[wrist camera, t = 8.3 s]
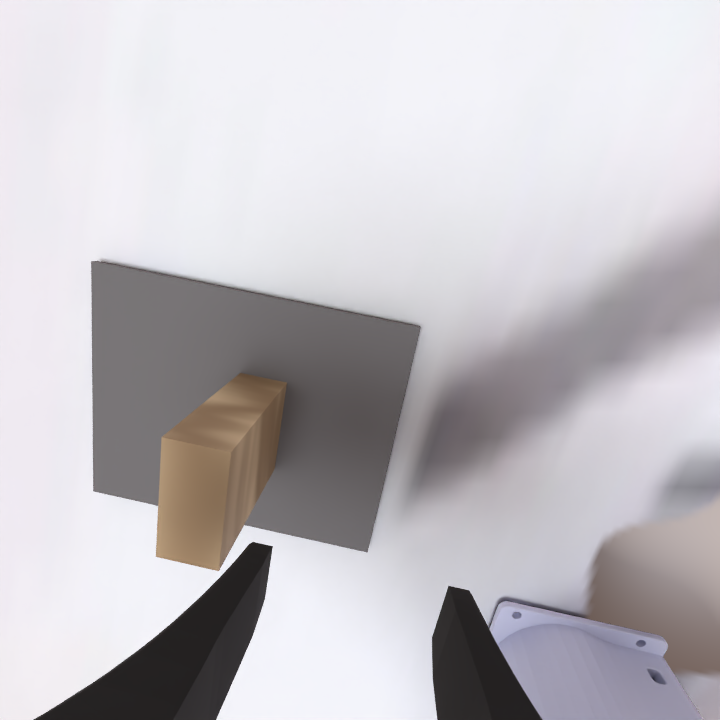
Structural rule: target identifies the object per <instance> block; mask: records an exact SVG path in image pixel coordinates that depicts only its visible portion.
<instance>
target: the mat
mask: <svg viewBox="0 0 720 720" xmlns="http://www.w3.org/2000/svg"><path fill="white" fill-rule="evenodd" d="M91 274H92V385H93V491H95V492H99V493H104V494H108V495H113V496H117V497H122V498H126V499H131V500H135V501H140V502H144V503H149V504H153V505H158V503H159V481H160V460H161V439H162V436H164V435H165V434H166V433H167V432H168V431H170V430H171V429H172V428H173V427H175V426H176V425H177V424H178V423H179V422H181V421H182V420H183V419H184V418H186V417H187V416H188V415H189V414H191V413H192V412H193V411H194V410H195V409H197V408H198V407H199V406H200V405H202V404H203V403H204V402H205V401H206V400H208V399H209V398H210V397H211V396H213V395H214V394H215V393H216V392H217V391H219V390H220V389H221V388H222V387H224V386H225V385H226V384H227V383H229V382H230V381H231V380H232V379H233V378H235V377H236V376H237V375H238V374H240V373H244V374H248V375H253V376H258V377H263V378H267V379H272V380H277V381H282V382H286V383H287V386H286V393H285V400H284V407H283V414H282V421H281V428H280V435H279V442H278V449H277V456H276V463H275V469H274V471H273V473H272V475H271V477H270V478H269V480H268V482H267V484H266V486H265V488H264V489H263V491H262V493H261V495H260V497H259V498H258V500H257V502H256V504H255V506H254V508H253V509H252V511H251V513H250V515H249V517H248V519H247V520H246V522H245V524H244V525H247V526H252V527H256V528H261V529H265V530H270V531H274V532H279V533H283V534H288V535H292V536H297V537H301V538H306V539H310V540H315V541H319V542H323V543H328V544H332V545H337V546H341V547H346V548H350V549H355V550H359V551H364V552H368V548H369V544H370V539H371V535H372V531H373V527H374V523H375V518H376V514H377V510H378V506H379V501H380V497H381V493H382V489H383V484H384V480H385V476H386V472H387V467H388V463H389V459H390V455H391V451H392V446H393V442H394V438H395V434H396V429H397V425H398V421H399V417H400V412H401V408H402V404H403V400H404V396H405V391H406V387H407V383H408V379H409V374H410V370H411V366H412V362H413V357H414V353H415V349H416V345H417V341H418V336H419V332H420V326H415V325H410V324H405V323H400V322H395V321H390V320H385V319H380V318H376V317H371V316H366V315H361V314H356V313H351V312H346V311H341V310H336V309H331V308H326V307H321V306H316V305H311V304H306V303H301V302H297V301H292V300H287V299H282V298H277V297H272V296H267V295H262V294H257V293H252V292H247V291H242V290H237V289H232V288H227V287H222V286H218V285H213V284H208V283H203V282H198V281H193V280H188V279H183V278H178V277H173V276H168V275H163V274H158V273H153V272H148V271H143V270H139V269H134V268H129V267H124V266H119V265H114V264H109V263H104V262H99V261H91Z"/></svg>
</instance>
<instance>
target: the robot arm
mask: <svg viewBox="0 0 720 720" xmlns="http://www.w3.org/2000/svg"><path fill="white" fill-rule="evenodd" d="M272 547H273V546H268V545H264V544H259V543H255V542H252V543H251V544H249V545H248V546H247V548H246V549H245V550H244V551H243V552H242V554H241V555H240V556H239V557H238V558H237V559H236V561H235V562H234V563H233V564H232V565H231V566H230V567H229V568H228V569H227V570H226V572H225V573H224V574H223V575H222V576H221V577H220V578H219V579H218V580H217V581H216V582H215V583H214V584H213V585H212V586H211V587H210V588H209V589H208V590H207V591H206V592H205V593H204V594H203V595H202V596H201V597H200V598H199V599H198V600H197V601H196V602H195V603H194V604H192V605H191V606H190V607H189V608H188V609H187V610H186V611H185V612H184V613H183V614H181V615H180V616H179V617H178V618H177V619H176V620H175V621H174V622H173V623H171V624H170V625H169V626H168V627H167V628H165V629H164V630H163V631H162V632H161V633H159V634H158V635H157V636H156V637H155V638H153V639H152V640H151V641H150V642H148V643H147V644H146V645H145V646H143V647H142V648H141V649H139V650H138V651H137V652H135V653H134V654H133V655H131V656H130V657H129V658H127V659H126V660H125V661H123V662H122V663H120V664H119V665H118V666H116V667H115V668H114V669H112V670H111V671H109V672H108V673H107V674H105V675H104V676H102V677H101V678H99V679H98V680H96V681H95V682H93V683H92V684H90V685H89V686H87V687H86V688H84V689H82V690H81V691H79V692H78V693H76V694H75V695H73V696H71V697H70V698H68V699H67V700H65V701H64V702H62V703H61V704H59V705H57V706H56V707H54V708H53V709H51V710H49V711H48V712H46V713H44V714H43V715H41V716H39V717H38V718H36V719H34V720H216V718H217V716H218V714H219V711H220V709H221V707H222V705H223V702H224V700H225V698H226V696H227V693H228V691H229V689H230V686H231V684H232V682H233V680H234V677H235V675H236V673H237V670H238V668H239V666H240V664H241V661H242V659H243V657H244V654H245V652H246V650H247V648H248V645H249V643H250V641H251V638H252V636H253V633H254V630H255V627H256V624H257V621H258V618H259V615H260V612H261V609H262V606H263V603H264V600H265V594H266V587H267V580H268V574H269V567H270V560H271V554H272ZM514 612H517V613H514ZM667 648H668V644H667V642H666V641H665V639H664V638H663V637H662V636H660V635H656V634H652V633H647V632H642V631H638V630H634V629H629V628H625V627H620V626H616V625H611V624H607V623H603V622H598V621H594V620H589V619H585V618H580V617H576V616H571V615H567V614H563V613H558V612H554V611H549V610H545V609H540V608H536V607H531V606H527V605H522V604H518V603H514V602H509V601H504V602H501V603H500V604H499V605H498V607H497V610H496V612H495V615H494V618H493V620H492V623H491V626H490V628H488V626H487V624H486V622H485V620H484V618H483V616H482V614H481V612H480V610H479V608H478V606H477V604H476V602H475V600H474V598H473V596H472V594H471V593H470V591H469V590H464V589H460V588H455V587H451V586H449V587H448V590H447V593H446V596H445V599H444V602H443V605H442V609H441V612H440V615H439V618H438V621H437V624H436V627H435V630H434V634H433V637H432V661H433V684H434V693H435V702H436V710H437V719H438V720H703V718H702V717H701V715H700V714H699V712H698V711H697V709H696V707H695V706H694V704H693V703H692V701H691V700H690V698H689V697H688V695H687V693H686V692H685V690H684V689H683V687H682V686H681V684H680V683H679V681H678V679H677V678H676V676H675V675H674V673H673V672H672V670H671V669H670V667H669V665H668V664H667V662H666V661H665V659H664V658H663V656H664V654H665V652H666V650H667Z"/></svg>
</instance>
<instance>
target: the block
mask: <svg viewBox="0 0 720 720" xmlns="http://www.w3.org/2000/svg"><path fill="white" fill-rule="evenodd" d="M286 386H287V383H286V382H282V381H277V380H272V379H267V378H263V377H258V376H253V375H248V374H244V373H240V374H238V375H237V376H236V377H235V378H233V379H232V380H231V381H230V382H229V383H227V384H226V385H225V386H224V387H222V388H221V389H220V390H219V391H217V392H216V393H215V394H214V395H213V396H211V397H210V398H209V399H208V400H206V401H205V402H204V403H203V404H202V405H200V406H199V407H198V408H197V409H195V410H194V411H193V412H192V413H191V414H189V415H188V416H187V417H186V418H184V419H183V420H182V421H181V422H179V423H178V424H177V425H176V426H175V427H173V428H172V429H171V430H170V431H168V432H167V433H166V434H165V435H164V436H162V439H161V460H160V481H159V503H158V524H157V545H156V557H160V558H164V559H168V560H173V561H177V562H181V563H186V564H190V565H195V566H199V567H203V568H208V569H212V570H217V571H219V570H220V568H221V566H222V564H223V562H224V560H225V559H226V557H227V555H228V553H229V551H230V550H231V548H232V546H233V544H234V542H235V540H236V539H237V537H238V535H239V533H240V531H241V529H242V528H243V526H244V524H245V522H246V520H247V519H248V517H249V515H250V513H251V511H252V509H253V508H254V506H255V504H256V502H257V500H258V498H259V497H260V495H261V493H262V491H263V489H264V488H265V486H266V484H267V482H268V480H269V478H270V477H271V475H272V473H273V471H274V469H275V463H276V456H277V449H278V442H279V435H280V428H281V421H282V414H283V407H284V400H285V393H286Z"/></svg>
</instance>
